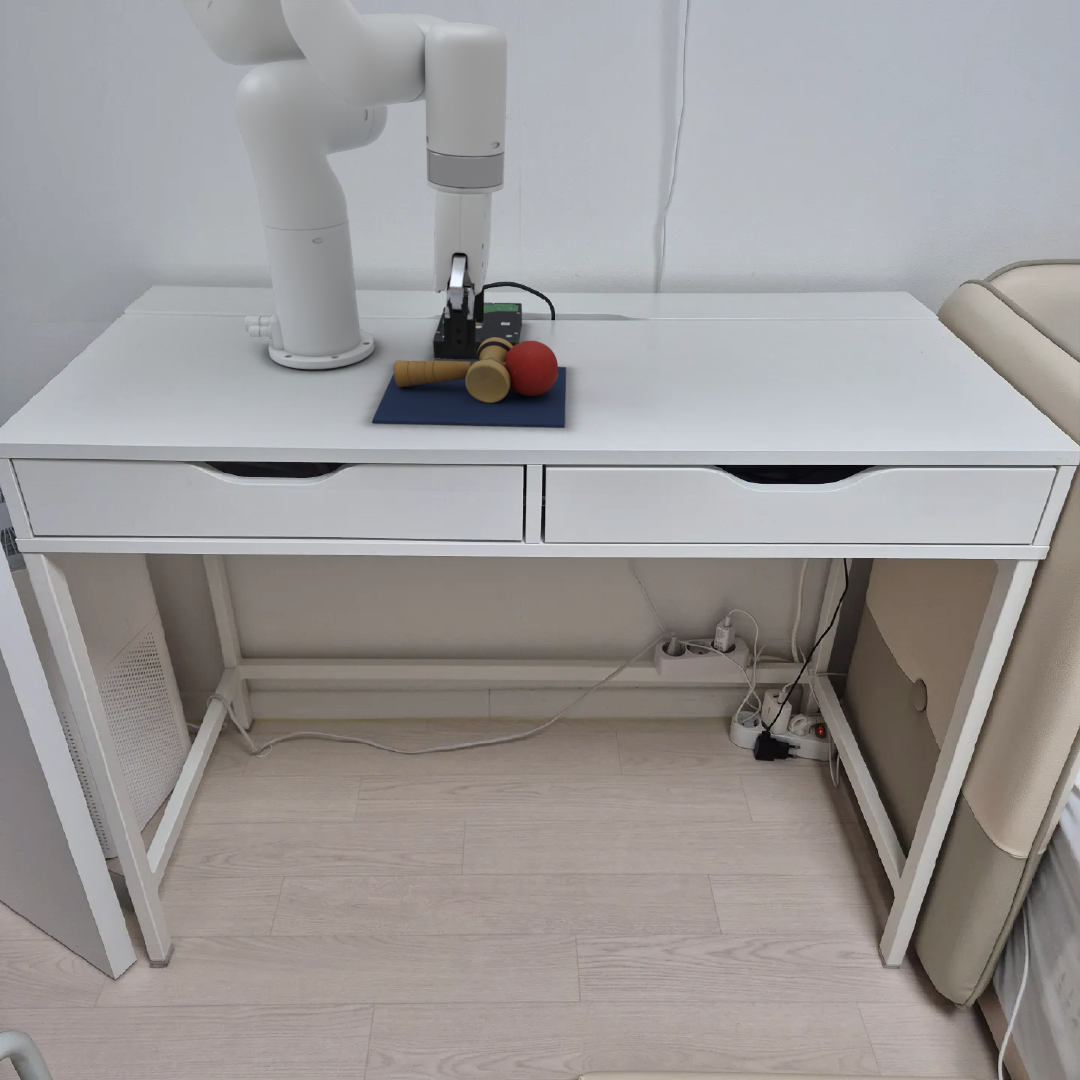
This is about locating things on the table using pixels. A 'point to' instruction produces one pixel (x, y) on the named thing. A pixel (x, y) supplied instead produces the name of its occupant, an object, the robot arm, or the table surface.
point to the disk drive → (486, 328)
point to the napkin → (471, 406)
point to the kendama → (489, 370)
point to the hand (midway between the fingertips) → (464, 337)
